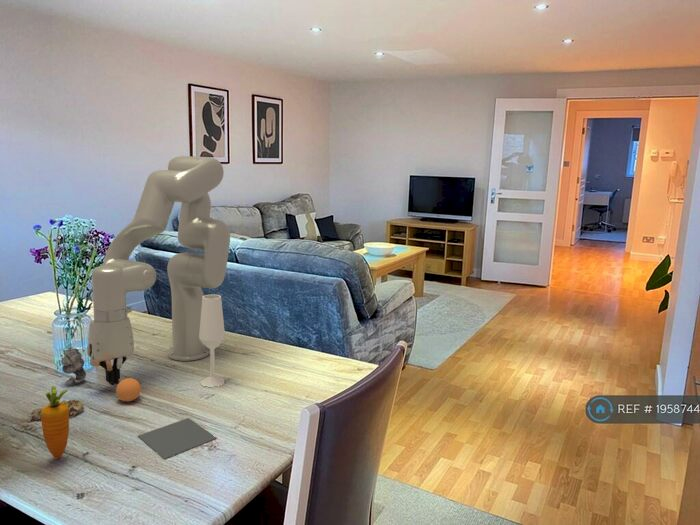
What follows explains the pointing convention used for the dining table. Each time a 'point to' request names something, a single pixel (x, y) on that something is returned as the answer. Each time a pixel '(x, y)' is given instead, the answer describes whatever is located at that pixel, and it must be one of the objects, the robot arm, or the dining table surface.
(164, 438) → the slate mark
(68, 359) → the seashell
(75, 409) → the mineral rock
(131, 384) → the ball
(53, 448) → the carrot
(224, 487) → the dining table surface
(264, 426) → the dining table surface
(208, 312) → the champagne flute
